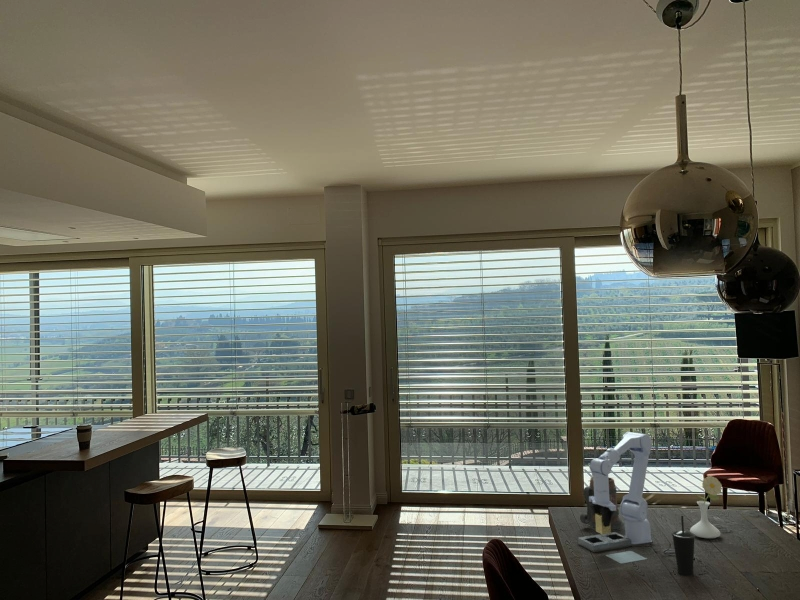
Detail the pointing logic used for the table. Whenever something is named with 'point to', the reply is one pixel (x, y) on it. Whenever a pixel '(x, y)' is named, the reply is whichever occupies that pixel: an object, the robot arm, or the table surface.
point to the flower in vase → (704, 526)
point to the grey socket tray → (604, 542)
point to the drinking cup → (684, 550)
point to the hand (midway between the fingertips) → (603, 524)
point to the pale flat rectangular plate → (626, 557)
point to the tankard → (588, 492)
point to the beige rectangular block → (601, 525)
